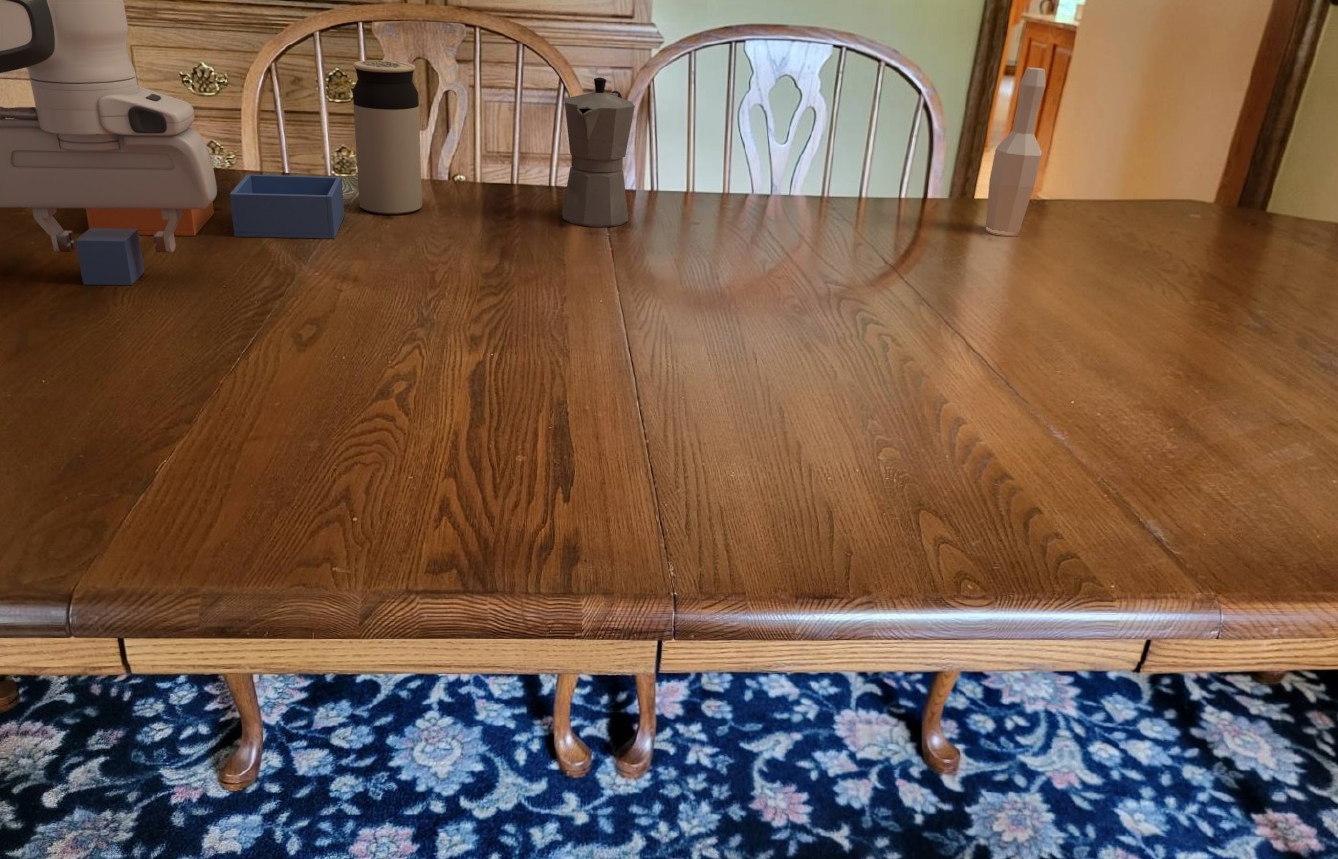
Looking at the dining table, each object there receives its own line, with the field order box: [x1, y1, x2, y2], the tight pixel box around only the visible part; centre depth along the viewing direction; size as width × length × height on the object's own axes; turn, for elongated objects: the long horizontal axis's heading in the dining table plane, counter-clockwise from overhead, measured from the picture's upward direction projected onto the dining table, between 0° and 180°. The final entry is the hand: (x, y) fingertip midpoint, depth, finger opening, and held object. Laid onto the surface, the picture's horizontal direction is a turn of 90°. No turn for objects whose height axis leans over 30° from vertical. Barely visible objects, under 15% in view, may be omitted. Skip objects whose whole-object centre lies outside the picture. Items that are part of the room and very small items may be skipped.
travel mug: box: [352, 59, 423, 216], centre depth 134 cm, size 8×8×18 cm
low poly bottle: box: [985, 66, 1046, 237], centre depth 144 cm, size 6×6×22 cm
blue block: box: [74, 228, 145, 286], centre depth 105 cm, size 4×4×4 cm
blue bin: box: [229, 173, 345, 240], centre depth 126 cm, size 11×10×5 cm
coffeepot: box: [561, 77, 636, 228], centre depth 137 cm, size 15×9×18 cm, turn 165°
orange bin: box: [85, 202, 215, 237], centre depth 124 cm, size 11×10×5 cm
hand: (116, 250), depth 105 cm, fingers open, 8 cm apart
